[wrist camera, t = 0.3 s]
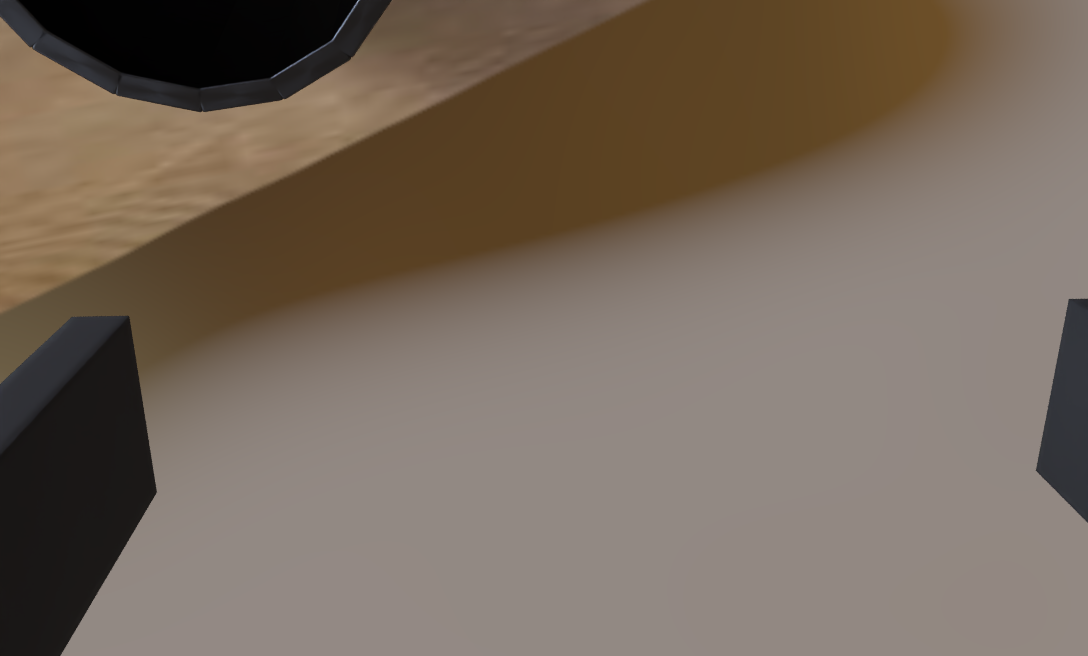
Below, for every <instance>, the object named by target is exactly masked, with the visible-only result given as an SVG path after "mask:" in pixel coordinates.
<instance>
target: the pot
mask: <svg viewBox="0 0 1088 656" xmlns="http://www.w3.org/2000/svg"><path fill="white" fill-rule="evenodd" d="M391 1H392V0H0V17H1V18H2V19H3V20H4V21H5V22H6V23H7V24H8V25H9V26H10V27H11V28H12V29H13V30H14V31H15V32H16V33H17V34H18V35H19V36H20V37H21V38H22V40H23V41H24V42H25V43H26V44H27V45H28V46H29V47H32V49H34V50H35V51H37V52H39V53H40V54H42V55H44V56H46V57H48V58H49V59H51V60H53V61H55V62H57V63H58V64H60V65H62V66H64V67H66V68H67V69H69V70H71V71H73V72H75V73H76V74H78V75H80V76H82V77H84V78H85V79H87V80H89V81H91V82H93V83H94V84H96V85H98V86H100V87H101V88H103V89H105V90H107V91H109V92H110V93H112V94H116V95H118V96H122V97H127V98H132V99H137V100H142V101H147V102H152V103H157V104H162V105H167V106H172V107H177V108H182V109H187V110H192V111H197V112H202V111H203V112H208V111H214V110H221V109H227V108H234V107H240V106H247V105H254V104H260V103H267V102H273V101H280V100H282V99H287V98H288V97H290V96H292V95H293V94H295V93H296V92H298V91H300V90H301V89H303V88H305V87H306V86H308V85H310V84H311V83H313V82H315V81H316V80H318V79H319V78H321V77H323V76H324V75H326V74H328V73H329V72H331V71H333V70H334V69H336V68H338V67H339V66H341V65H342V64H344V63H346V62H347V61H349V60H350V59H351V57H353V56H354V55H355V53H356V52H357V51H358V49H359V48H360V46H361V45H362V43H363V42H364V40H365V39H366V37H367V36H368V34H369V33H370V31H371V30H372V29H373V27H374V26H375V24H376V23H377V21H378V20H379V18H380V17H381V15H382V14H383V12H384V11H385V10H386V8H387V7H388V5H389V4H390V2H391Z"/></svg>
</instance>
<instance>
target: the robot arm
mask: <svg viewBox="0 0 1088 656" xmlns="http://www.w3.org/2000/svg"><path fill="white" fill-rule="evenodd" d="M1036 471H1037V472H1038V473H1039V474H1040V475H1041V476H1042V477H1043V478H1044V479H1045V480H1046V481H1047V482H1048V483H1049V484H1050V485H1051V486H1052V487H1053V488H1054V489H1055V490H1056V491H1057V492H1058V493H1059V494H1060V495H1061V496H1062V497H1063V498H1064V499H1065V500H1066V501H1067V502H1068V503H1069V504H1070V505H1071V506H1072V507H1073V508H1074V509H1075V510H1076V511H1077V512H1078V513H1079V514H1080V515H1081V516H1082V517H1083V518H1084V519H1085V520H1086V521H1087V522H1088V299H1069V301H1068V307H1067V312H1066V317H1065V323H1064V327H1063V333H1062V338H1061V343H1060V349H1059V354H1058V359H1057V364H1056V369H1055V375H1054V379H1053V385H1052V390H1051V395H1050V400H1049V406H1048V411H1047V416H1046V421H1045V426H1044V432H1043V437H1042V442H1041V447H1040V452H1039V457H1038V463H1037V468H1036ZM156 492H157V491H156V484H155V478H154V472H153V465H152V459H151V453H150V446H149V440H148V433H147V427H146V421H145V414H144V408H143V401H142V395H141V389H140V383H139V376H138V370H137V363H136V357H135V350H134V344H133V339H132V331H131V325H130V319H129V316H99V317H98V316H95V317H94V316H93V317H71V318H70V319H69V320H68V321H67V322H66V323H65V324H64V325H63V326H62V327H61V328H60V329H59V330H58V331H57V332H55V333H54V334H53V335H52V336H51V337H50V338H49V339H48V340H47V341H46V342H45V343H44V344H43V345H41V346H40V347H39V348H38V349H37V350H36V351H35V352H34V353H33V354H32V355H31V356H30V357H29V358H28V359H26V360H25V361H24V362H23V363H22V364H21V365H20V366H19V367H18V368H17V369H16V370H15V371H14V372H13V373H11V374H10V375H9V376H8V377H7V378H6V379H5V380H4V381H3V382H2V383H1V384H0V656H60V655H61V654H62V652H63V650H64V648H65V647H66V645H67V644H68V642H69V640H70V638H71V637H72V635H73V633H74V632H75V630H76V628H77V627H78V625H79V623H80V622H81V620H82V618H83V617H84V615H85V613H86V611H87V610H88V608H89V606H90V605H91V603H92V601H93V599H94V598H95V596H96V595H97V592H98V591H99V589H100V588H101V586H102V584H103V583H104V581H105V579H106V578H107V576H108V574H109V572H110V571H111V569H112V567H113V566H114V564H115V562H116V561H117V559H118V557H119V556H120V554H121V552H122V550H123V549H124V547H125V545H126V544H127V542H128V540H129V538H130V537H131V535H132V533H133V532H134V530H135V528H136V527H137V525H138V523H139V522H140V520H141V518H142V517H143V515H144V513H145V511H146V510H147V508H148V506H149V505H150V503H151V501H152V500H153V498H154V496H155V495H156Z"/></svg>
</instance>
